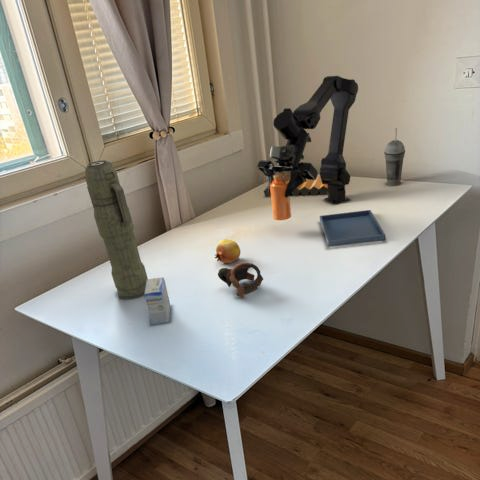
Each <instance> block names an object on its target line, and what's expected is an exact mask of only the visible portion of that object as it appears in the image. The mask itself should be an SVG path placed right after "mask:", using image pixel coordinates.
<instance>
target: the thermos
mask: <svg viewBox="0 0 480 480" xmlns="http://www.w3.org/2000/svg"><path fill="white" fill-rule="evenodd" d="M84 169H85V172H84V173H85V174H84V177H85V178H84V179H85V183H86V188H87V191H88V195H89V199H90V201H91V205H92V208H93V217H94V220H95V221H94V222H95V224H96V227H97V230H98V234H99V236H100V237H101V239H102V241H103V244H104V247H105V250H106V253H107V257H108V259H109V264H110V266H111V277H112V281H113V283H114V287H115V288H116V290H117V294H118V296H119V297H120V298H121V299H124V300H126V299H128V300H130V299H131V300H132V299H134V298H139V297H141V296H144V292H145V287H146V281H147V280H148V279H149V278H148V274H147V270H146V267H145V264H144V263H143V262H142V259H141V256H140V252H139V248H138V245H137V240H136V237H135V233H134V228H135V227H134V222H133V218H132V215H131V211H130V208H129V207H128V203H127V198H126V195H125V191H124V188H123V187H122V185H121V183H120V180H119V176H118V173H117V170H116V169H115V167H114V166H113V164H112V162H111V161H108V160H106V159H104V160H103V159H102V160H96V161H92V162H90V163H87V165H86V166H85V168H84Z"/></svg>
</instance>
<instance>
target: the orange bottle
mask: <svg viewBox="0 0 480 480" xmlns="http://www.w3.org/2000/svg"><path fill="white" fill-rule="evenodd" d="M273 178H274V180H273V181H272V183H270V193H271V197H270V200H271V201H270V202H271V211H272V218H273V220H275V221H286V220H288V219H291V217H292V208H291V197H290V196H291V194H290V195H289V196H288V197H287V198H286V197H285V192H286V189H287V186H288V181H286V180H285V179H283V174H275V175H273Z"/></svg>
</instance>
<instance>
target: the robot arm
mask: <svg viewBox="0 0 480 480" xmlns="http://www.w3.org/2000/svg"><path fill="white" fill-rule="evenodd" d="M358 92H359V84H358V82H357V81H356V80H355V79H354V78H352V79H348V78H344V77H342V76H339V75H327V76H325V77H323V79H322V83H320V85H319V86H318V88H317V89H316V90H315V92H314V93H313V95H311V97H310V98H309V99H308V101H306V102H305V103H302V104H300V105H299V106H298V107H297V108H295V109H294V110H292V109H291V108H290V107H288V108H287V107H285V108H283V110H282V111H281V112H280V113H278V114H277V115H276V117H274V119H273V123H272V124H273V125H272V126H273V127H274V129H275V130H276V131H277V132H278V133H279V134H280V136H281V137H282V138H283V139H284V140H286V142H285V145H282V146H270V151H269V157H268V158H269V159H274V162H275V163H276V164H274V162H272V161H271V160H268V159H267V160H266V159H261V160H259V161H258V162H257V165H256V169H257V170H258V171H259V172H260V173H261V174H262V175H263V176H265V177H267V186H268V195H269V196H271V193H270V183H272V181H273V180H274V178H273V175H275V174H277V173H278V172H282V173H290V181H289V183H288V186H287V189H286V192H285V197H286V198H287V197H288V196H289V195H290V196H291V195H292V192H293V191H294V190H295V189H296V188H298V187H299V186H300V185H301V184H302V183H304V182H306V181H307V180H316V178H317V177H318V176H320V177H321V181H322V184H327V186H328V193H327V197H324V198H323V201H325V202H327V203H330V204H332V205H337V204H339V203H343V202H346V201H349V200H350V199H349V197H346V185H347V186H348V185H349V184H350V182H351V174H350V173H349V172H348V170H347V163H346V160H345V158H344V147H345V140H346V134H347V125H348V119H349V112H350V109H351V108H352V106H353V105H354V104H355V102H356V100H357V94H358ZM329 101H331V104H332V107H333V112H332V113H333V114H332V120H331V129H330V137H329V144H328V151H327V154H326V156H325V157H322V158H321V161H320V168H319V173H318V170H317V169H316V167H315V166H314V164H313V163H312V162H302V161H301V160H304V158H305V155H304V152H305V148H306V146H307V143H312V138H311V136H310V135H311V134H310V133H309V132H308V131H307V130H314V129H316V127H317V126H318V124H319V122H320V120H321V112H322V111H323V109H324V108H325V106H326V105H327V104H328V102H329ZM277 164H278V165H277ZM318 174H319V175H318ZM306 178H307V180H306Z"/></svg>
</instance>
